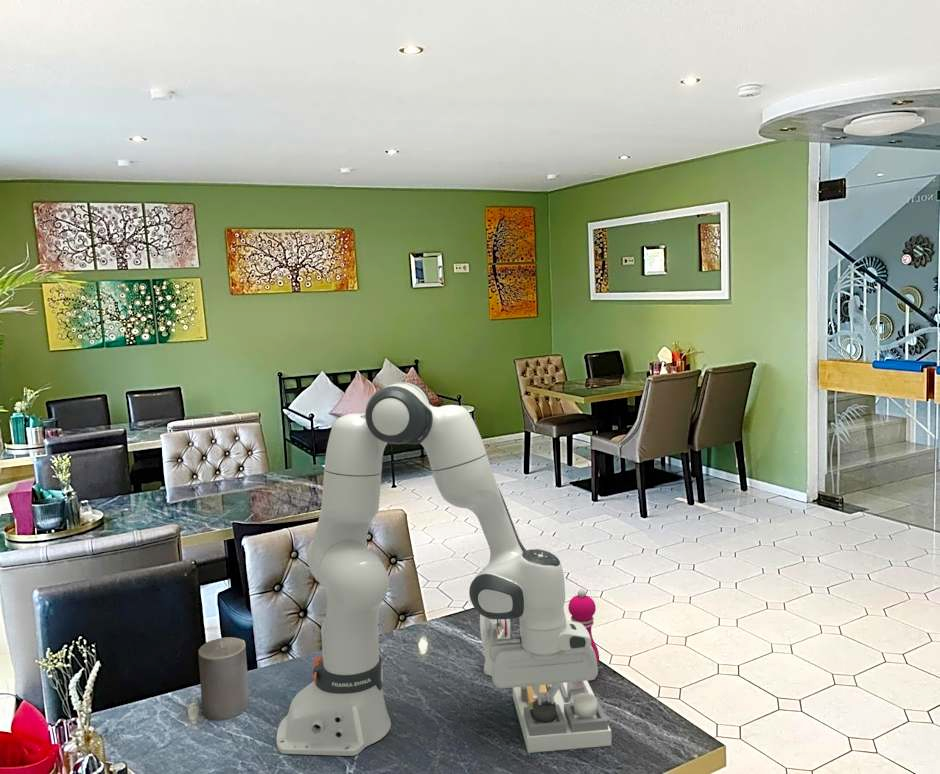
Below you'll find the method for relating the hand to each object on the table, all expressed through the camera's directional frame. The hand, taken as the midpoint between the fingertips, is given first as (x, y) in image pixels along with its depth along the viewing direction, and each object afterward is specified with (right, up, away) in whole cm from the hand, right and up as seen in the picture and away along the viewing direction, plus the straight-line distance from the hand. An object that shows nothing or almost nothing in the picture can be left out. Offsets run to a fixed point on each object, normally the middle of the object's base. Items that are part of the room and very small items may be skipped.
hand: (545, 703), depth 147 cm
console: (+3, -6, +7) cm, 10 cm away
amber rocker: (-1, -1, +9) cm, 9 cm away
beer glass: (-8, -4, +28) cm, 29 cm away
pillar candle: (-67, -8, +16) cm, 69 cm away
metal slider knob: (+7, -3, +9) cm, 12 cm away
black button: (0, -3, 0) cm, 3 cm away
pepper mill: (+11, -4, +24) cm, 27 cm away
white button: (+8, -2, +1) cm, 8 cm away
